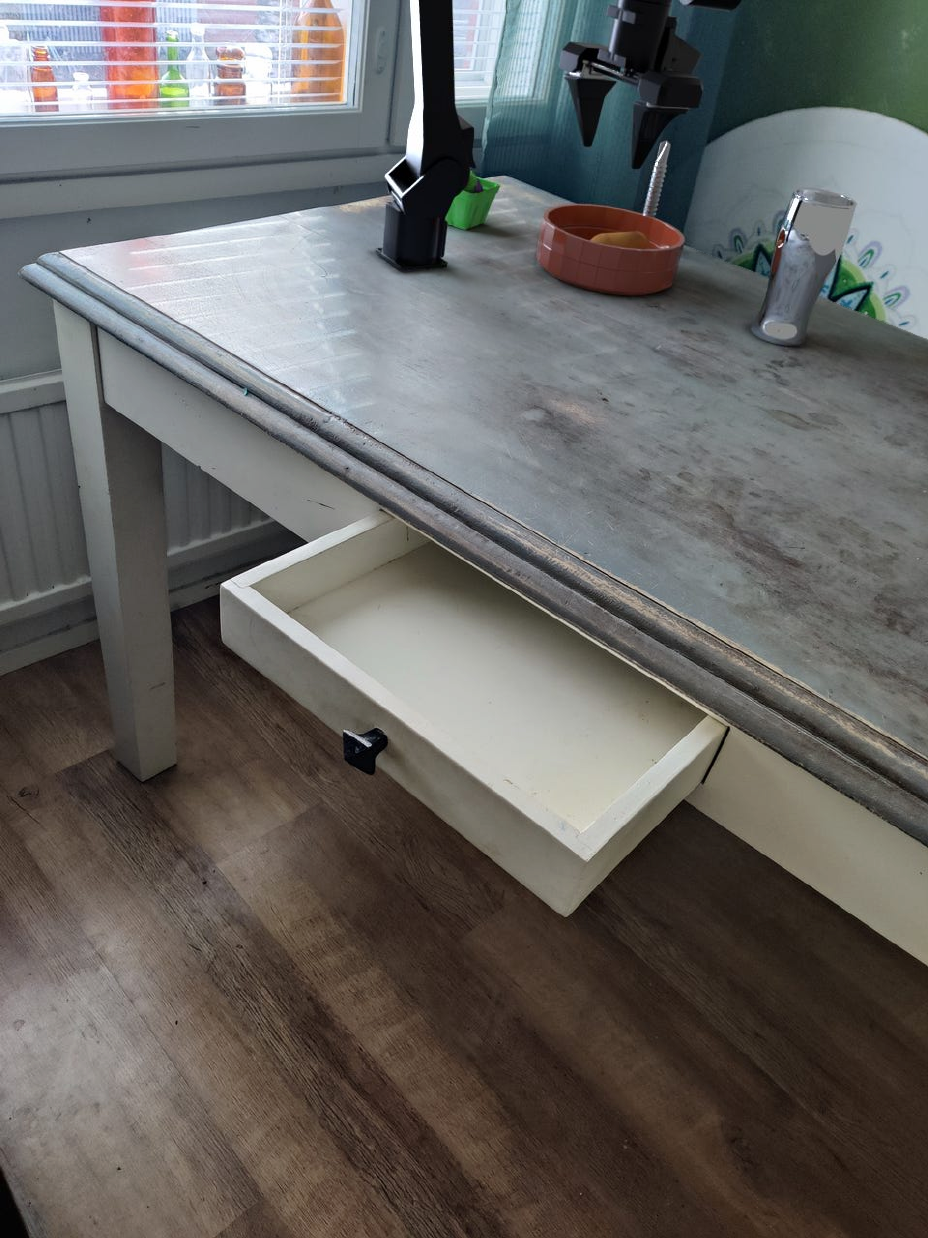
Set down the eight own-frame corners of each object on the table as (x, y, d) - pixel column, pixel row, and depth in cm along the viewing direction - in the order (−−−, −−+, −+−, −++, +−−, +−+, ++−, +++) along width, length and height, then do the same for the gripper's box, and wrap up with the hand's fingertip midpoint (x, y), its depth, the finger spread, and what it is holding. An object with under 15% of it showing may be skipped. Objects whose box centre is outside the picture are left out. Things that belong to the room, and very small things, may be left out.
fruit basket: (497, 223, 128) (511, 132, 121) (463, 236, 122) (475, 140, 115) (427, 201, 132) (436, 111, 125) (390, 212, 126) (398, 118, 119)
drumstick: (631, 257, 122) (640, 225, 119) (651, 269, 119) (660, 237, 117) (555, 263, 116) (562, 230, 113) (574, 276, 113) (582, 243, 111)
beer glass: (809, 332, 110) (859, 196, 101) (806, 353, 105) (858, 211, 96) (749, 318, 111) (793, 182, 102) (744, 337, 106) (789, 196, 97)
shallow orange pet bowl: (628, 308, 109) (640, 260, 105) (508, 262, 116) (515, 215, 113) (696, 280, 120) (708, 235, 117) (582, 239, 127) (591, 196, 124)
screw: (618, 237, 130) (650, 239, 132) (632, 249, 127) (664, 251, 128) (641, 133, 122) (675, 136, 124) (656, 143, 119) (691, 146, 120)
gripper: (759, 22, 99) (714, 180, 109) (645, -9, 111) (614, 136, 121) (681, 13, 94) (641, 181, 104) (570, -18, 106) (543, 135, 115)
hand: (610, 157), depth 111 cm, fingers open, 9 cm apart
